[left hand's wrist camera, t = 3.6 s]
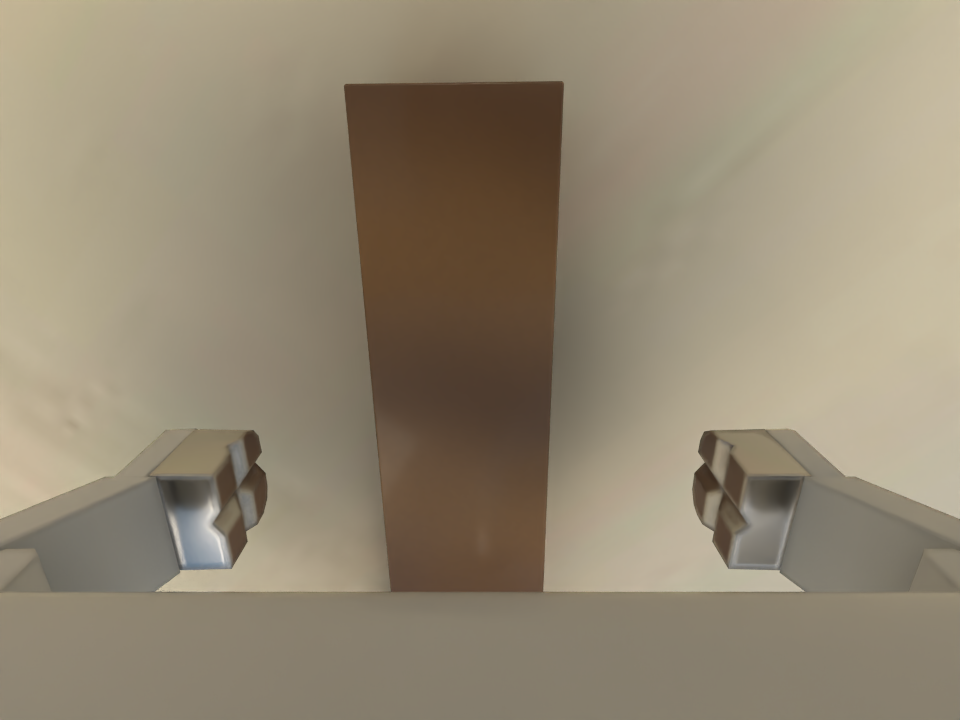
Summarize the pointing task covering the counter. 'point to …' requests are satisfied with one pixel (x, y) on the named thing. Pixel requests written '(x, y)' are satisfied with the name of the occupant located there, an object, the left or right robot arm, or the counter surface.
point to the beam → (460, 321)
